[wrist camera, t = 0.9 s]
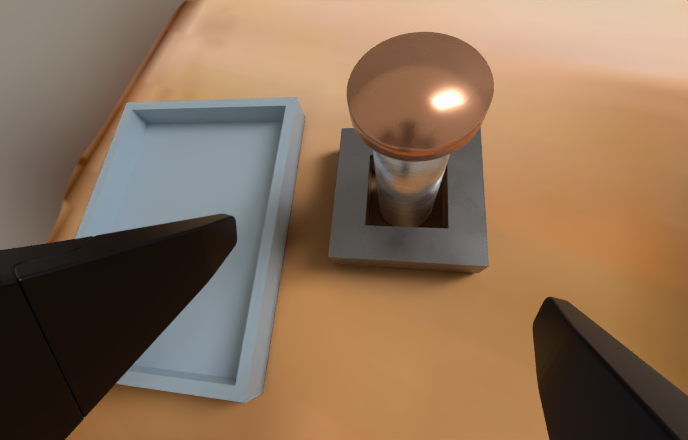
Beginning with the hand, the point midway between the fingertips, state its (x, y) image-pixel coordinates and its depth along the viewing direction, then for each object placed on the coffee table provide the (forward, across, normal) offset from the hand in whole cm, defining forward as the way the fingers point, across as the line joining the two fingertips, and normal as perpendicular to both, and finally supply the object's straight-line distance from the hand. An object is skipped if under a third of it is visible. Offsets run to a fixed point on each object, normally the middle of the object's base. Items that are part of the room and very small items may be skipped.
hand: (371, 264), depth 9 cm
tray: (+10, +16, +8) cm, 21 cm away
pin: (+15, 0, +4) cm, 15 cm away
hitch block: (+15, 0, +4) cm, 15 cm away
